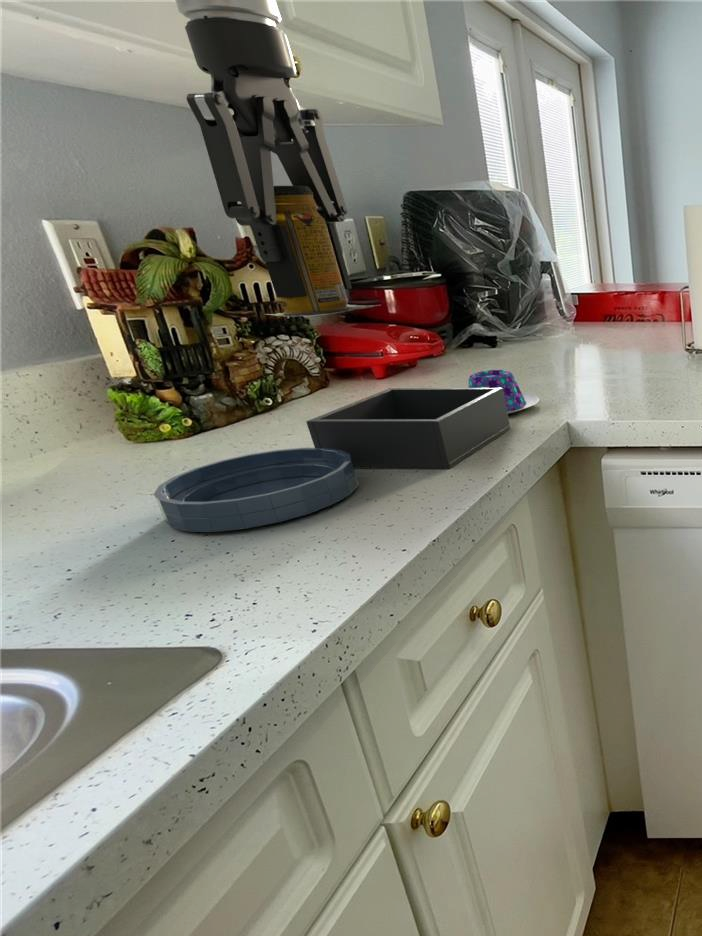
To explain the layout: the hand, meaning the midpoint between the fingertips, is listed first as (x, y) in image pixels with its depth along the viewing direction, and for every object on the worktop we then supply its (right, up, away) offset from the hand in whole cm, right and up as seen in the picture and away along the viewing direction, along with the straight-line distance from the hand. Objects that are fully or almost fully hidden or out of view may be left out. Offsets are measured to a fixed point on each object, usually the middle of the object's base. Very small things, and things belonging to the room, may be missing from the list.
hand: (315, 292), depth 74 cm
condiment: (0, -2, +2) cm, 2 cm away
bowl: (-4, -22, -1) cm, 22 cm away
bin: (+3, -14, +15) cm, 21 cm away
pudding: (+6, -7, +31) cm, 32 cm away
